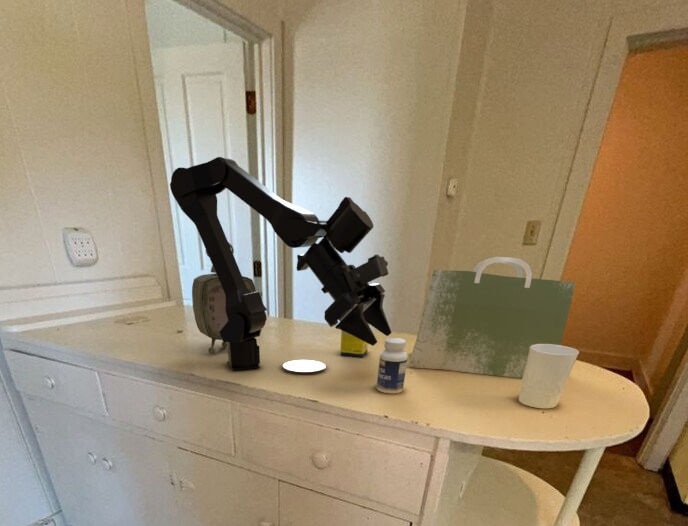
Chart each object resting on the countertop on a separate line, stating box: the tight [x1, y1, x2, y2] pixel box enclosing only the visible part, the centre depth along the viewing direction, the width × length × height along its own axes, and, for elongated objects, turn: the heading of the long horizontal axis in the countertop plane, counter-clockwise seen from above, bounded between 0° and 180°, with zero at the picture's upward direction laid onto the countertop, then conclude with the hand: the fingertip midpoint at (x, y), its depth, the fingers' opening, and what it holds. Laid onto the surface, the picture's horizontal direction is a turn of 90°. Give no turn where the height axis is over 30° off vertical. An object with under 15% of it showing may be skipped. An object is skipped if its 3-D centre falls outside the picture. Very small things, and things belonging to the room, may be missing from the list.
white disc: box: [282, 359, 327, 376], centre depth 99 cm, size 10×10×1 cm
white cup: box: [518, 344, 580, 409], centre depth 79 cm, size 8×8×10 cm
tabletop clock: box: [191, 241, 257, 355], centre depth 106 cm, size 14×9×25 cm, turn 120°
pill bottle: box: [376, 337, 409, 395], centre depth 84 cm, size 5×5×10 cm
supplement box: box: [340, 323, 371, 358], centre depth 108 cm, size 6×6×11 cm
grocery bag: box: [409, 256, 576, 379], centre depth 96 cm, size 32×14×23 cm, turn 73°
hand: (382, 339), depth 83 cm, fingers open, 9 cm apart
